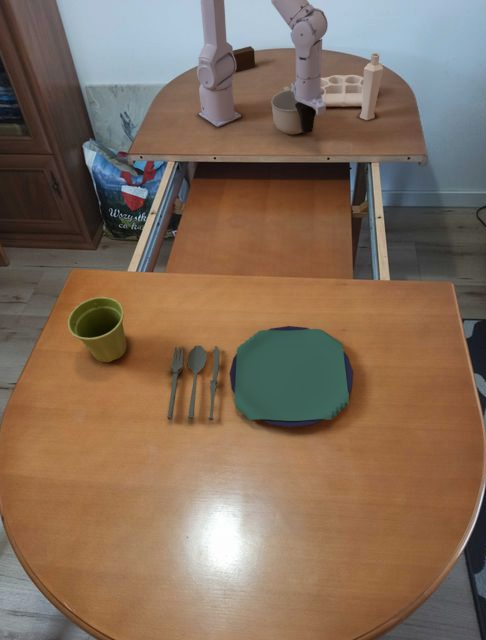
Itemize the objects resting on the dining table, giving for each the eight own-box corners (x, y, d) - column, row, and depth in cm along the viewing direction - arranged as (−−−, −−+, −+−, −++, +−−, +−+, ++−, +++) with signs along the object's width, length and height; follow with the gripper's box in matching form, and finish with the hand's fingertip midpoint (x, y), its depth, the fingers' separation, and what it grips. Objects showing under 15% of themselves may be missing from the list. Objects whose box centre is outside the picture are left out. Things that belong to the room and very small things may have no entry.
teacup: (315, 137, 126) (316, 106, 120) (272, 140, 127) (272, 110, 121) (310, 111, 135) (311, 80, 128) (270, 113, 136) (270, 83, 129)
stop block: (255, 66, 154) (254, 49, 150) (225, 74, 153) (223, 57, 149) (251, 63, 156) (250, 45, 152) (221, 70, 154) (220, 53, 150)
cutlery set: (358, 433, 75) (360, 425, 73) (163, 433, 77) (160, 426, 76) (345, 331, 87) (347, 323, 85) (177, 334, 90) (175, 326, 88)
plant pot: (73, 363, 87) (56, 332, 81) (100, 324, 93) (85, 291, 86) (120, 376, 85) (106, 344, 78) (144, 335, 90) (133, 302, 83)
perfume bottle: (355, 113, 132) (363, 52, 120) (372, 111, 132) (380, 49, 120) (360, 121, 129) (368, 60, 117) (377, 119, 129) (386, 57, 117)
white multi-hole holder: (309, 110, 135) (311, 85, 144) (377, 109, 132) (375, 84, 141) (309, 97, 132) (312, 73, 141) (379, 97, 129) (377, 71, 138)
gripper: (339, 81, 110) (335, 139, 120) (310, 58, 119) (308, 114, 129) (310, 89, 109) (308, 147, 119) (283, 65, 117) (283, 121, 128)
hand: (307, 131), depth 124 cm, fingers closed
